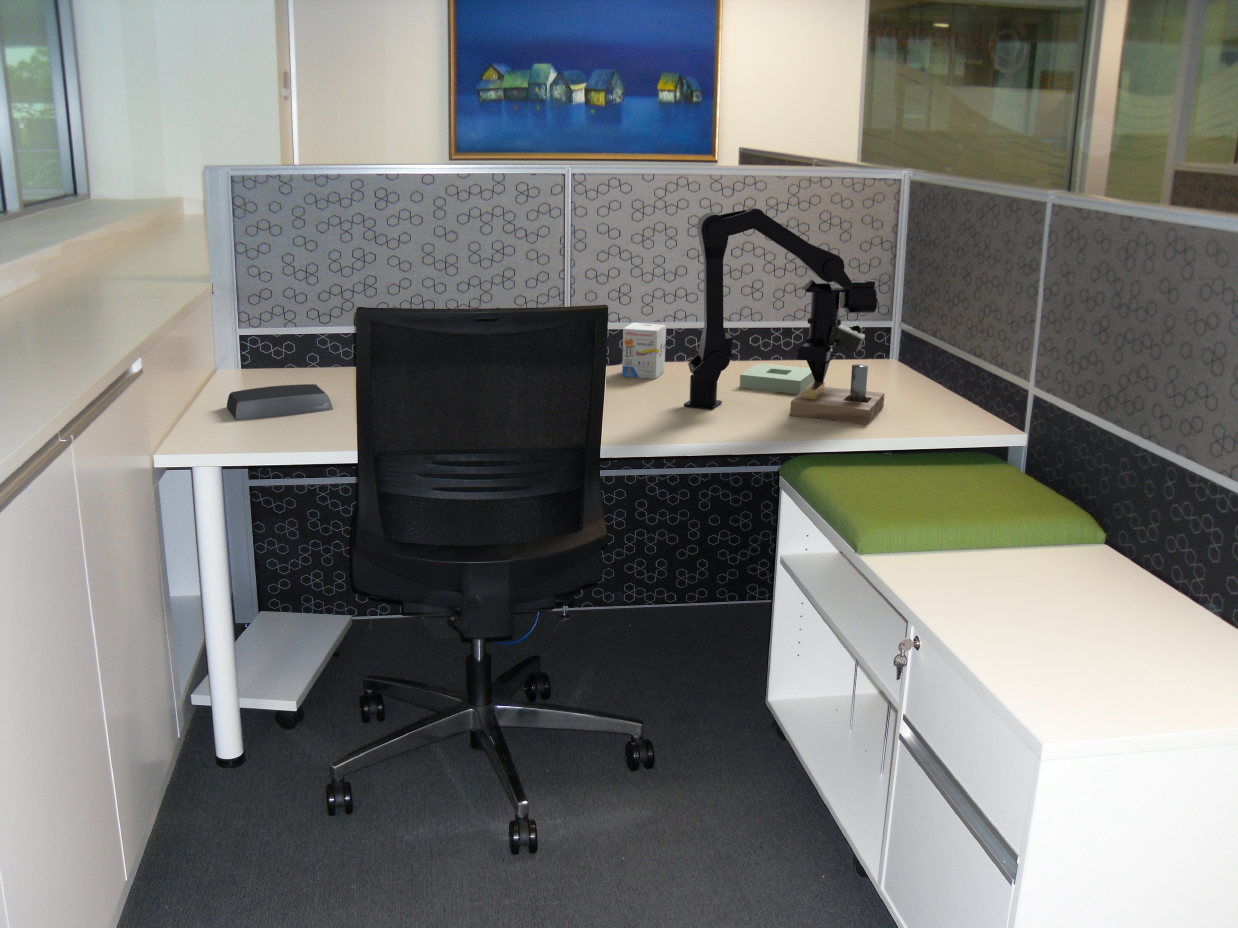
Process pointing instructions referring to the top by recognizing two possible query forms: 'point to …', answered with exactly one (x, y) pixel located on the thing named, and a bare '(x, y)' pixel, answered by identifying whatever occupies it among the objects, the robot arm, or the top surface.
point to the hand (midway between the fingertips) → (819, 386)
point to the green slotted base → (776, 378)
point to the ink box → (644, 350)
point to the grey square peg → (858, 383)
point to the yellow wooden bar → (813, 390)
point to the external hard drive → (277, 401)
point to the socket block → (838, 406)
